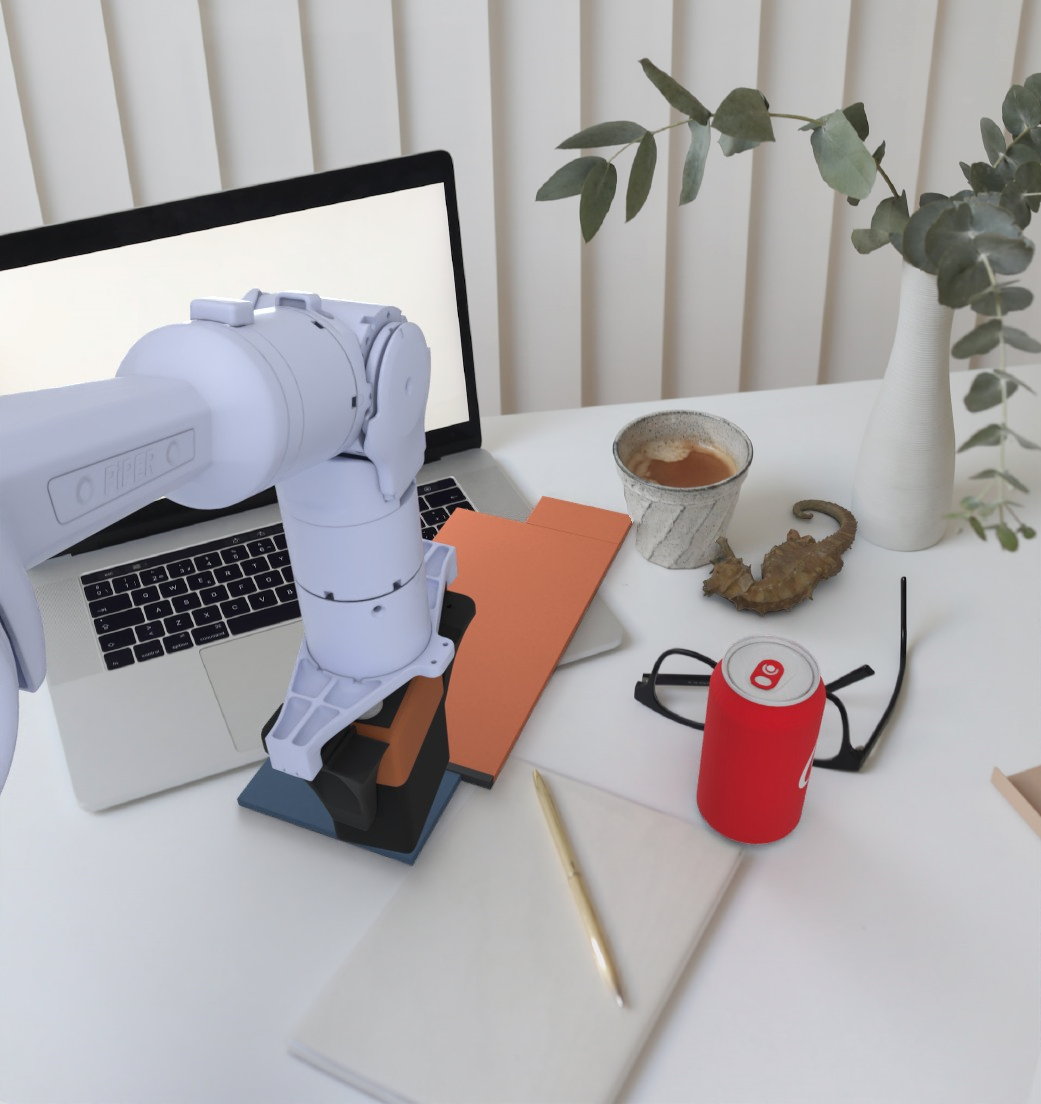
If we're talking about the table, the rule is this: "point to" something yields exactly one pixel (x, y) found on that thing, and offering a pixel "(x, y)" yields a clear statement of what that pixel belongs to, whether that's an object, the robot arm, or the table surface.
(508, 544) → the sorting mat
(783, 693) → the beverage can
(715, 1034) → the table surface
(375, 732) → the battery
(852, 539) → the seahorse
